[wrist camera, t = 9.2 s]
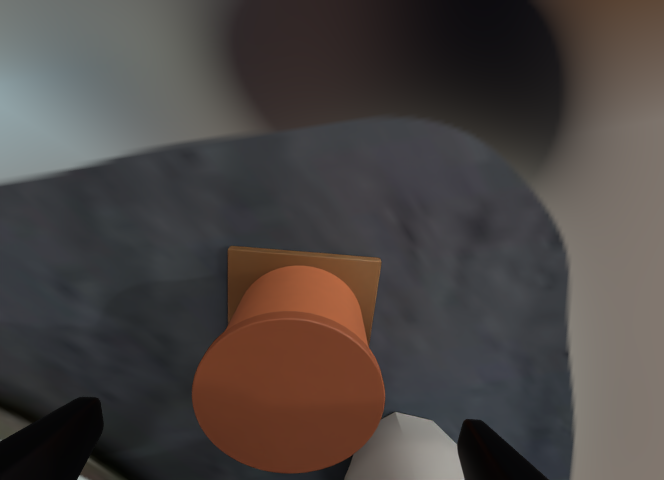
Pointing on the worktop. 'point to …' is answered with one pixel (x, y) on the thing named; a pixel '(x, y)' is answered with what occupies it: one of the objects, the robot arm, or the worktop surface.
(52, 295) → the worktop surface
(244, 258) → the coaster
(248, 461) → the brown lid
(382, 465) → the salt shaker
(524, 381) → the worktop surface
